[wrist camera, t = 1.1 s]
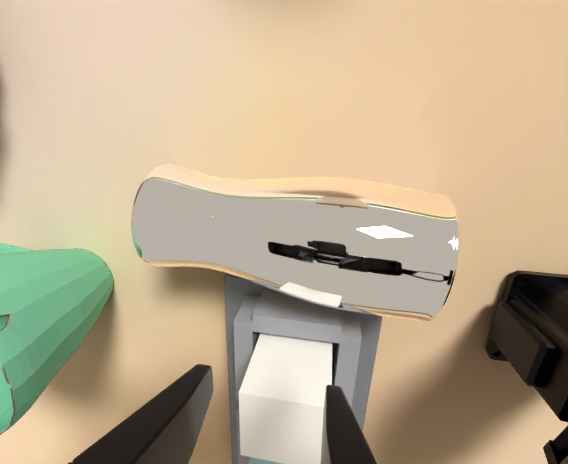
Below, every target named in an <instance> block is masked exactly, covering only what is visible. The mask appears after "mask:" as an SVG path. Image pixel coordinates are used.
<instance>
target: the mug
mask: <svg viewBox="0 0 568 464" xmlns="http://www.w3.org/2000/svg"><path fill="white" fill-rule="evenodd" d="M113 283H114V280H113V277H112V273H111V271H110V270H109V268H108V266H107V265H106V263H105V262H104V261H103V260H102V259H101V258H100V257H99V256H97V255H95V254H94V253H92V252H90V251H87V250H84V249H57V250H37V251H35V250H30V249H26V248H21V247H16V246H11V245H7V244H2V243H0V435H1V434H2V433H3V432H5V431H6V430H8V429H9V428H10V427H11V426H13V425H14V424H15V423H16V422H17V421H18V420H19V419H20V418H21V417H22V416H23V415H24V414H25V413H26V412H27V411H28V410H29V409H30V408H31V406H32V405H33V404H34V402H35V401H36V400H37V399H38V397H39V396H40V395H41V393H42V392H43V391H44V389H45V388H46V387H47V385H48V384H49V383H50V381H51V380H52V379H53V377H54V376H55V375H56V373H57V372H58V371H59V369H60V368H61V367H62V366H63V365H64V364H65V362H66V361H67V360H68V359H69V358H70V357H71V355H72V354H73V353H74V352H75V351H76V349H77V348H78V347H79V346H80V344H81V343H82V341H83V340H84V338H85V337H86V335H87V334H88V332H89V331H90V329H91V328H92V326H93V325H94V323H95V322H96V320H97V318H98V317H99V315H100V313H101V311H102V309H103V307H104V306H105V304H106V302H107V300H108V298H109V296H110V294H111V292H112V290H113Z"/></svg>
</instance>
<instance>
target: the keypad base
mask: <svg viewBox="0 0 568 464" xmlns="http://www.w3.org/2000/svg"><path fill="white" fill-rule="evenodd" d="M224 281H225V304H226V327H227V350H228V373H229V396H230V419H231V442H232V464H248V463H249V459H250V457H248V456H243V455H240V420H239V390H240V388H241V385H242V382H243V379H244V377H245V374H246V371H247V368H248V366H249V363H250V360H251V358H252V355H253V352H254V349H255V347H256V344H257V341H258V338H259V336H260V333H267V334H274V335H281V336H289V337H296V338H303V339H310V340H318V341H325V342H332V385H334V386H340V387H341V388H342V389H343V391H344V394H345V396H346V398H347V400H348V402H349V404H350V407H351V409H352V411H353V413H354V415H355V417H356V420H357V422H358V424H359V426H360V428H361V430H363V424H364V418H365V413H366V407H367V401H368V395H369V390H370V384H371V378H372V373H373V367H374V361H375V355H376V350H377V344H378V338H379V332H380V327H381V321H382V316H376V315H368V314H361V313H355V312H349V311H342V310H337V309H333V308H328V307H324V306H320V305H315V304H312V303H309V302H306V301H302V300H299V299H296V298H293V297H290V296H287V295H285V294H282V293H279V292H276V291H274V290H271V289H268V288H266V287H263V286H260V285H258V284H255V283H253V282H250V281H247V280H245V279H242V278H239V277H236V276H233V275H231V274H228V273H227V274H226V275H225V277H224Z"/></svg>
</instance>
